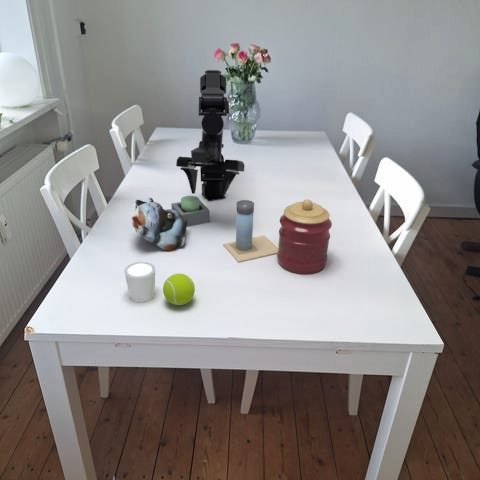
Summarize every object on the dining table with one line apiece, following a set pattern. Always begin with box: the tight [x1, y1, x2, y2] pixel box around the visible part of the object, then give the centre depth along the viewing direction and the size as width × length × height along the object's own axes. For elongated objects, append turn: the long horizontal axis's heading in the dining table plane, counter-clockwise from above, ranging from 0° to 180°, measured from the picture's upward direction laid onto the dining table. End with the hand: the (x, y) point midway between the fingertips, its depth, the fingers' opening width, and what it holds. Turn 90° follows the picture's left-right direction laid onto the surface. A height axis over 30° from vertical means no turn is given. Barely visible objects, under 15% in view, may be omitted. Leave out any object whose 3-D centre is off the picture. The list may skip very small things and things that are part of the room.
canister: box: [276, 198, 333, 275], centre depth 117 cm, size 13×13×18 cm
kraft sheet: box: [222, 234, 279, 264], centre depth 127 cm, size 13×10×1 cm
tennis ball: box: [162, 273, 196, 306], centre depth 103 cm, size 7×7×7 cm
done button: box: [180, 195, 200, 213], centre depth 140 cm, size 5×5×4 cm
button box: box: [170, 199, 211, 228], centre depth 141 cm, size 9×9×4 cm
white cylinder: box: [123, 261, 156, 303], centre depth 105 cm, size 7×7×7 cm
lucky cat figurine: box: [131, 197, 188, 252], centre depth 126 cm, size 15×12×14 cm
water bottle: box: [235, 199, 255, 251], centre depth 124 cm, size 5×5×13 cm
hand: (208, 195), depth 131 cm, fingers open, 9 cm apart
